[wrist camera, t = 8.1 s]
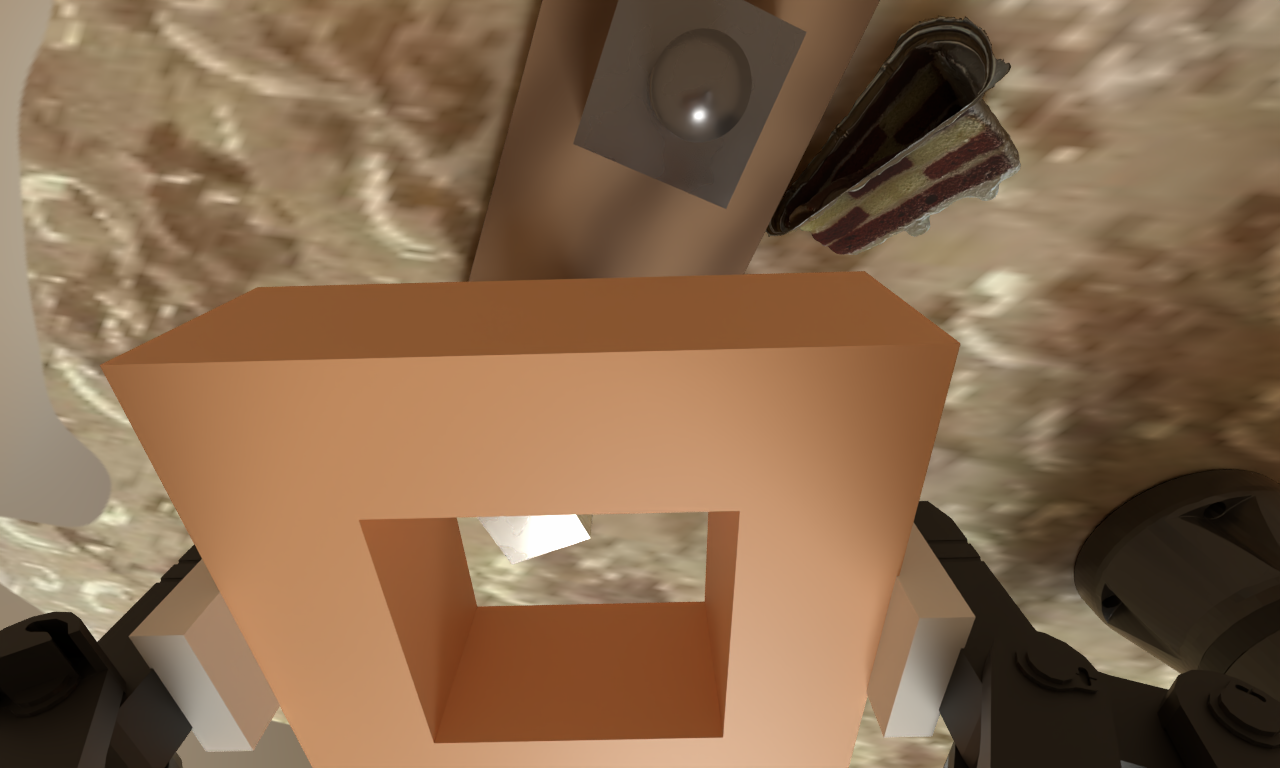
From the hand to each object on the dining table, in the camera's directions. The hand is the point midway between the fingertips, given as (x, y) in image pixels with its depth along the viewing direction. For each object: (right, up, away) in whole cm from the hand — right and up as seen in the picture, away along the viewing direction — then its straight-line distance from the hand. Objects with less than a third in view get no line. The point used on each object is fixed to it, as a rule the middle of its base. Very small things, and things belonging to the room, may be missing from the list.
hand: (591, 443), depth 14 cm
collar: (0, -1, -2) cm, 3 cm away
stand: (+3, +15, +12) cm, 20 cm away
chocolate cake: (+14, +13, +16) cm, 25 cm away
